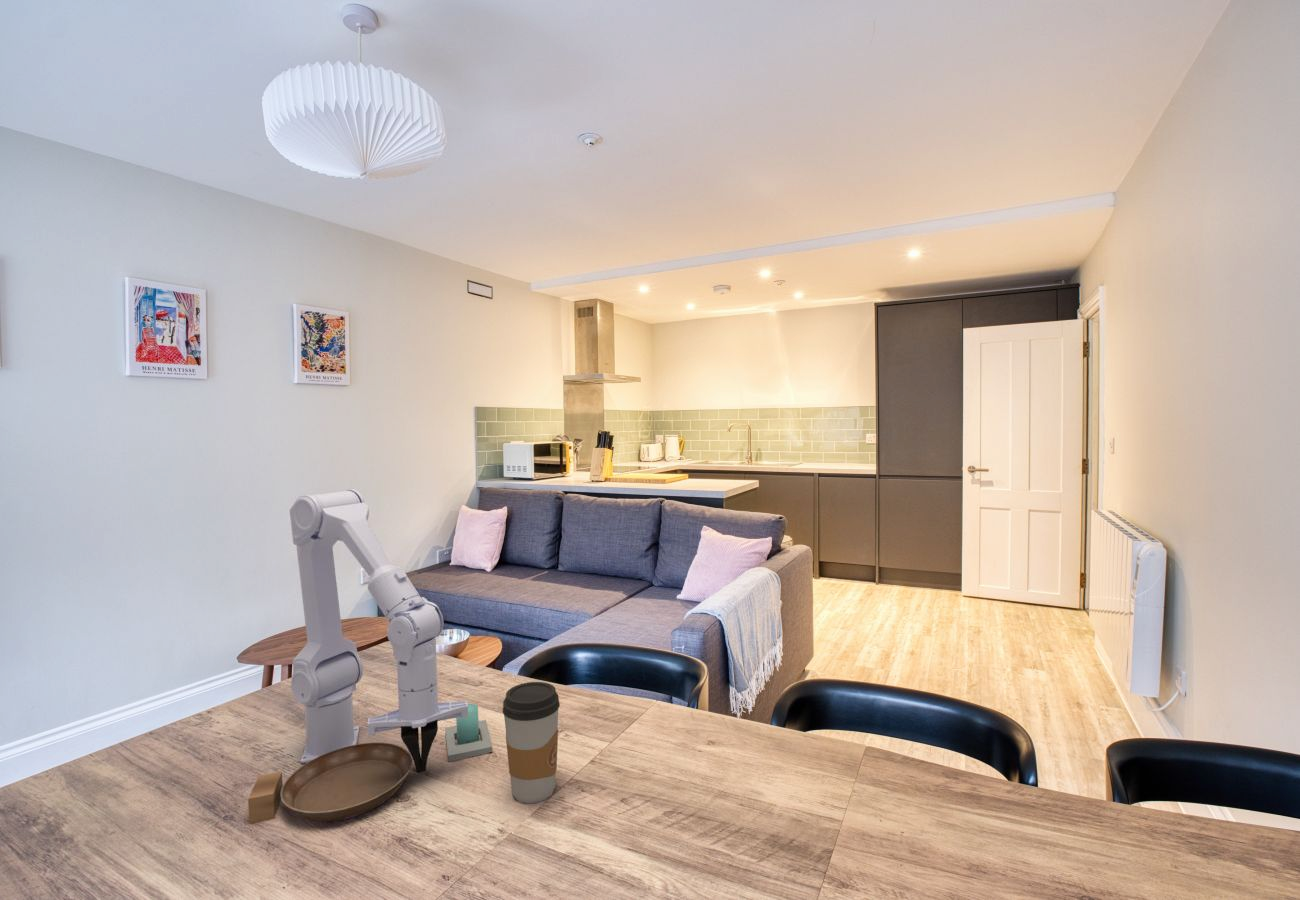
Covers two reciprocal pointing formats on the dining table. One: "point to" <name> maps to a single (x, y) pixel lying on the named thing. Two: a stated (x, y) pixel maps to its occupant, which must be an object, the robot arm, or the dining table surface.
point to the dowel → (468, 726)
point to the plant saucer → (346, 781)
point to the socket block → (468, 748)
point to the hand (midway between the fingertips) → (421, 769)
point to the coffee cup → (532, 739)
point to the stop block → (265, 797)
